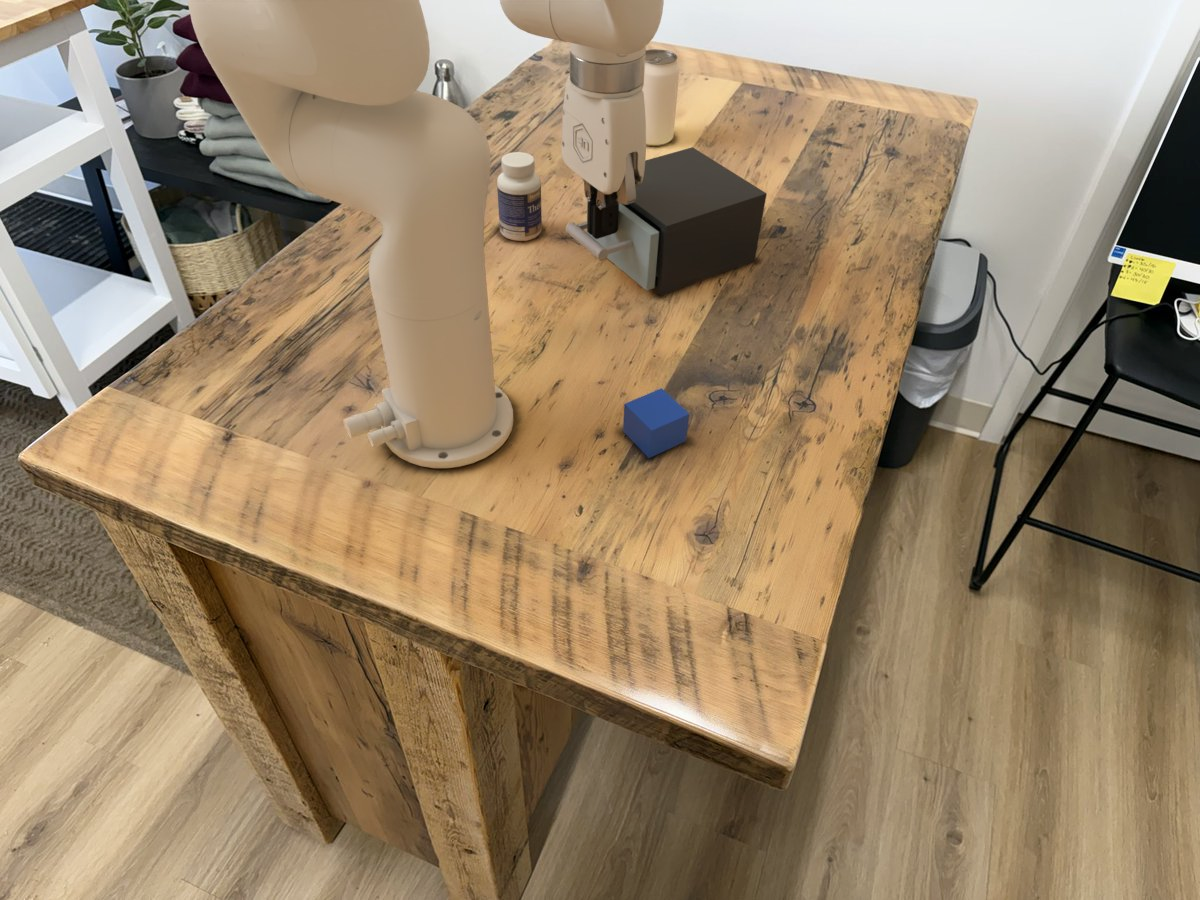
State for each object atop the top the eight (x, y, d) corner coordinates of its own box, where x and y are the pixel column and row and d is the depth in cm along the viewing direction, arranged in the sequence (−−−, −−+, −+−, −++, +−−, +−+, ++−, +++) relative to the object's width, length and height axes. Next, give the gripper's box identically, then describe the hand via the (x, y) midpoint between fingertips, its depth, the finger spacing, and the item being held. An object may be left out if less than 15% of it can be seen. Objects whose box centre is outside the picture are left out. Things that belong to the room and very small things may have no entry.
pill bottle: (536, 244, 106) (533, 171, 99) (494, 239, 106) (489, 166, 99) (546, 223, 109) (545, 151, 103) (506, 218, 110) (502, 146, 103)
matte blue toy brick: (648, 458, 79) (651, 430, 76) (622, 431, 82) (624, 403, 79) (686, 441, 81) (689, 413, 78) (658, 415, 83) (661, 387, 81)
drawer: (611, 303, 95) (613, 247, 90) (552, 251, 103) (551, 196, 98) (735, 258, 103) (744, 204, 98) (672, 213, 110) (677, 160, 105)
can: (680, 135, 129) (688, 54, 121) (660, 150, 125) (666, 68, 117) (644, 125, 132) (649, 44, 123) (623, 139, 128) (627, 57, 119)
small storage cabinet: (660, 296, 98) (666, 226, 92) (594, 241, 106) (595, 174, 100) (754, 261, 104) (766, 193, 98) (685, 212, 112) (692, 146, 106)
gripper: (536, 52, 87) (541, 213, 100) (618, 104, 78) (611, 273, 91) (597, 39, 90) (594, 197, 103) (682, 88, 81) (667, 253, 94)
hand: (602, 232), depth 97 cm, fingers closed
